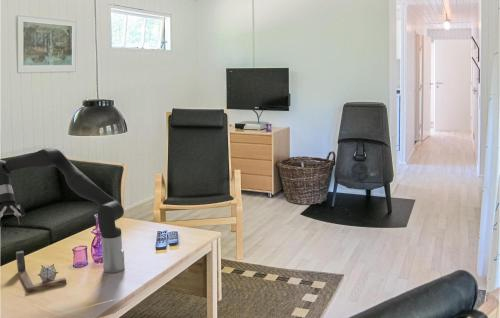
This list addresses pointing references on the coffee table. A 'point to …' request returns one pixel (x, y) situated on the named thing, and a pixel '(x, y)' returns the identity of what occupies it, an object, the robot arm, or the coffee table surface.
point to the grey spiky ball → (47, 273)
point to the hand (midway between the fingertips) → (10, 225)
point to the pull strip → (26, 279)
